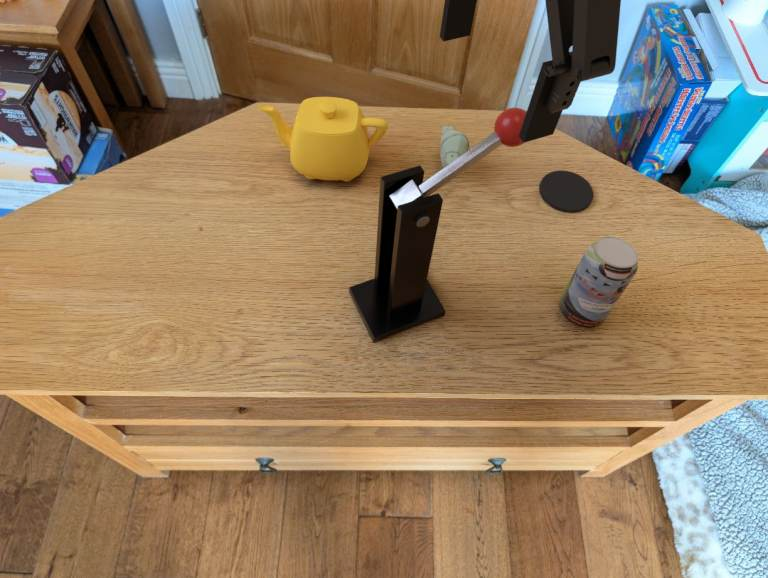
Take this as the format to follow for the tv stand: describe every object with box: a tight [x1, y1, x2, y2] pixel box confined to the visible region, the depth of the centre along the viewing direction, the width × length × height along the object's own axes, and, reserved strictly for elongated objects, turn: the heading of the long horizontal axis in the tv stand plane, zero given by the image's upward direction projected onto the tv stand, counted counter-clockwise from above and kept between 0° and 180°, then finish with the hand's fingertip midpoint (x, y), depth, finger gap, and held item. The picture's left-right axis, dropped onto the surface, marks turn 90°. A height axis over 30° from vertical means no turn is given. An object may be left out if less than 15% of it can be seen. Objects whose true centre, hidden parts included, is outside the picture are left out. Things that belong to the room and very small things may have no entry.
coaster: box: [538, 170, 594, 214], centre depth 84 cm, size 8×8×1 cm
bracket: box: [348, 164, 447, 343], centre depth 63 cm, size 10×8×22 cm
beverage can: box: [558, 235, 639, 329], centre depth 68 cm, size 6×7×12 cm
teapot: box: [257, 96, 389, 183], centre depth 81 cm, size 18×11×11 cm, turn 88°
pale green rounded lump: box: [439, 125, 470, 168], centre depth 83 cm, size 8×4×7 cm, turn 3°
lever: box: [390, 107, 527, 209], centre depth 54 cm, size 15×4×4 cm, turn 114°
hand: (492, 82), depth 46 cm, fingers open, 13 cm apart
